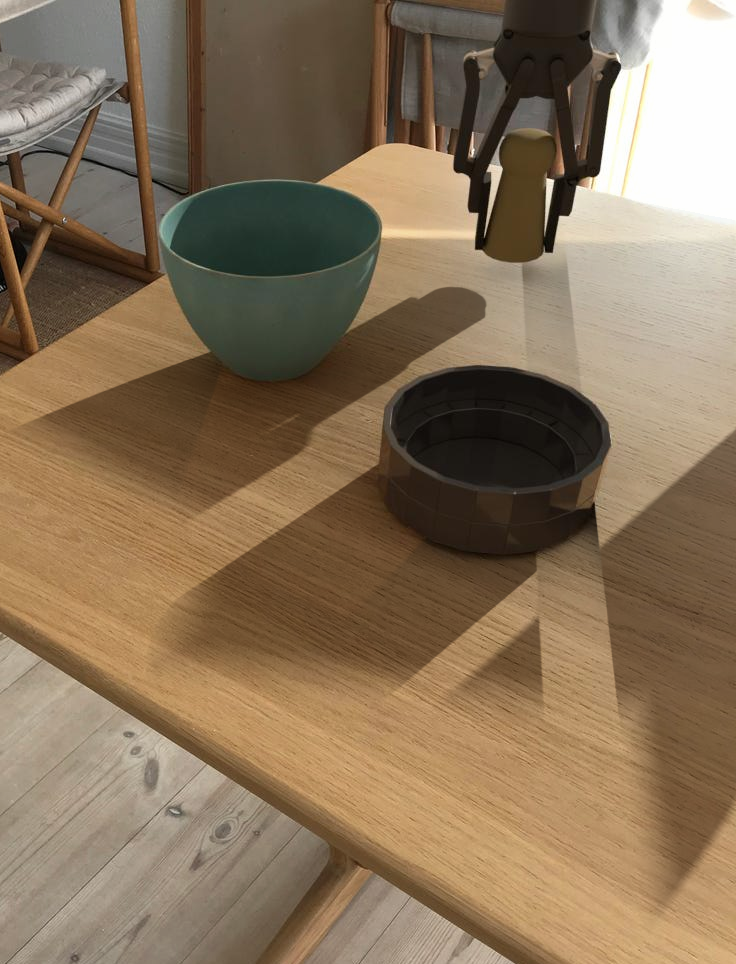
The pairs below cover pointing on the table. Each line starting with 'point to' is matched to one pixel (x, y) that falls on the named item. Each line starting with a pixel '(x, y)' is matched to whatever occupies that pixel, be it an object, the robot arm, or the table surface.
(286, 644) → the table surface
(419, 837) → the table surface
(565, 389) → the bowl
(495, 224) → the yellow pawn
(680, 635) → the table surface
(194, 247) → the teal green deep bowl
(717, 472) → the table surface
